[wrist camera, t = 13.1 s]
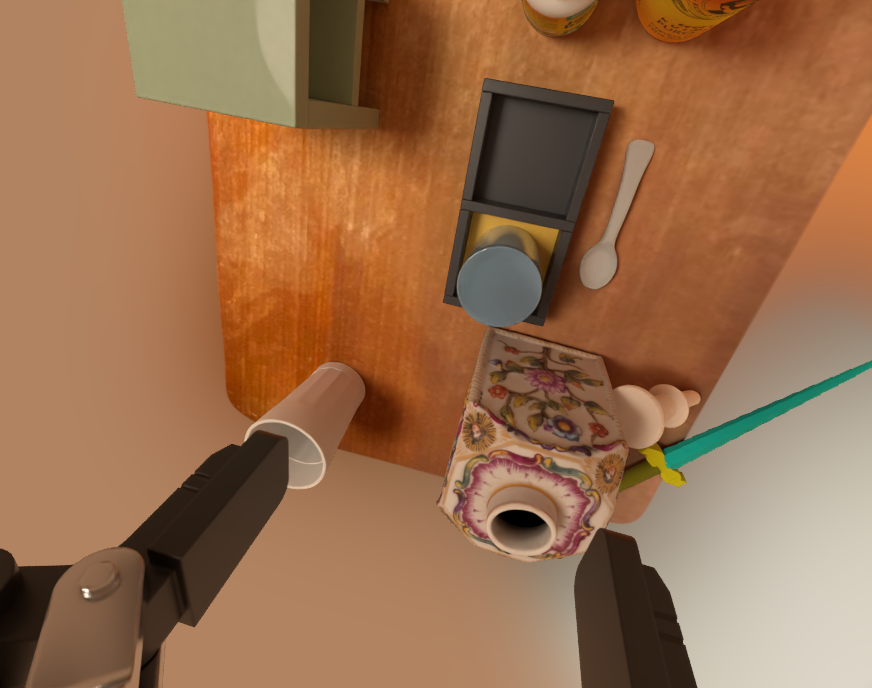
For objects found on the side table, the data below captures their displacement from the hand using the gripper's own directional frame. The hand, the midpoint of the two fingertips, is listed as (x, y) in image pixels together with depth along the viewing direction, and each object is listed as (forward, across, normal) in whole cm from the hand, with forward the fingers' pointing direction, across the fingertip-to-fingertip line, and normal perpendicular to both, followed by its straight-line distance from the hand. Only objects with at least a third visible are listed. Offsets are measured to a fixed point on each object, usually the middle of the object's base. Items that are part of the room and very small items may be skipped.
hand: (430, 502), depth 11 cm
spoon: (+31, -8, -3) cm, 32 cm away
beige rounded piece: (+23, -13, +11) cm, 29 cm away
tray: (+30, 0, -2) cm, 31 cm away
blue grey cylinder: (+30, 0, +2) cm, 30 cm away
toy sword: (+28, -14, +26) cm, 41 cm away
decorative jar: (+30, -6, +14) cm, 34 cm away
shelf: (+31, +18, -11) cm, 37 cm away
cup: (+31, +14, +21) cm, 40 cm away
